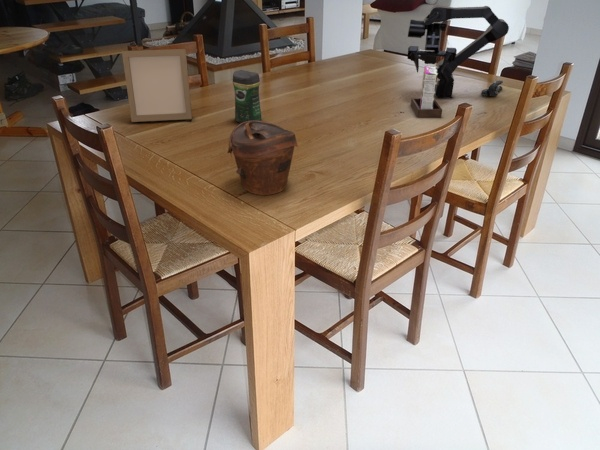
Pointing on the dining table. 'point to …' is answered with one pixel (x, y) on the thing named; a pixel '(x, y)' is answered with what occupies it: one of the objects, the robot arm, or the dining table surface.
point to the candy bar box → (428, 87)
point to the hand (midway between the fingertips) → (429, 72)
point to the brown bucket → (262, 155)
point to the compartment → (426, 113)
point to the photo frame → (157, 84)
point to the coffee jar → (246, 96)
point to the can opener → (492, 89)
